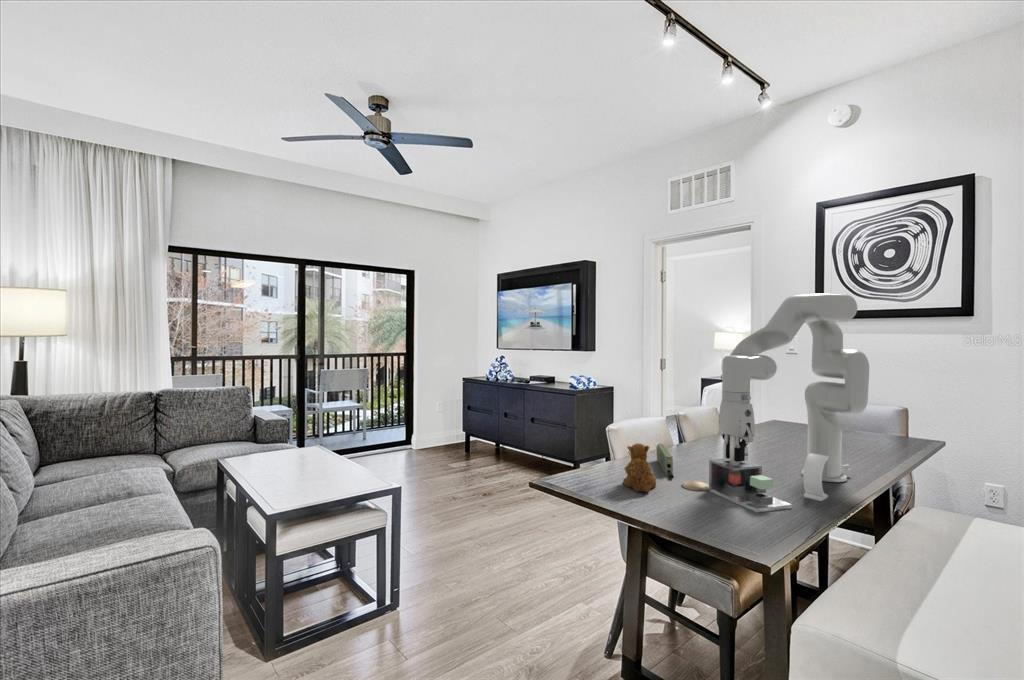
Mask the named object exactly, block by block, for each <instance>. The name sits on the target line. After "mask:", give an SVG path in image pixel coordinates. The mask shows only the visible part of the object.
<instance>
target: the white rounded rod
mask: <svg viewBox="0 0 1024 680" xmlns="http://www.w3.org/2000/svg"><path fill="white" fill-rule="evenodd" d="M734 448H737V447H736V437H734V436H730V464H732V465H740V461H739V462H736V461H734ZM729 472H730V473H733V474H740V470H734V471H733V470H731V469H730V470H729Z"/></svg>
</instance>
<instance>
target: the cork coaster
mask: <svg viewBox="0 0 1024 680" xmlns="http://www.w3.org/2000/svg"><path fill="white" fill-rule="evenodd" d="M681 486H682V487H683V488H685V489H687V490H689V491H697V492H704V491H707V488H705V486H709V483H706V482H703V481H698V480H685V481H682V483H681Z"/></svg>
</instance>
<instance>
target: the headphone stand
mask: <svg viewBox="0 0 1024 680" xmlns="http://www.w3.org/2000/svg"><path fill="white" fill-rule="evenodd" d="M827 460H828V456H824V455H819V454H813V453H810V454H809V455H808V457H806V459H805V462H804V465H803V466H804V467H803V469H804V470H803V469H802V470H803V475H802V482H803V489H804V490H805V493H803V497H804V498H808V499H811V500H815V501H820V502H822V501H824V500H826V499H828V498H829V497H828V496H829V495H828V494H826V493H825V492H824V489H823V481H822V473H823V468H824V465H825V462H826V461H827Z"/></svg>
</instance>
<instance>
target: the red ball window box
mask: <svg viewBox="0 0 1024 680" xmlns="http://www.w3.org/2000/svg"><path fill="white" fill-rule="evenodd" d="M708 463H709V464H708V465H709V467H708V485H709V486H705V488H707V490H706V491H708V492H710V493H712V494H714V495H716V496H719V497H721V498H724V499H725V500H728V501H730V502H732V503H734V504H736V505H739V506H741V507H743V508H745V509H747V510H749V511H752V512H754V513H756V514H757V513H764V512H765V513H766V512H771V511H773V512H774V511H779V510H787V509H792V508H793V504H791V503H789V502H787V501H785V500H784V501H783V500H781V499H779V498H777V497H773V496H771V495H769V494H766V493H759V492H757V488H756V487H753V486H751V485H750V476H758V475H762V473H763V466H762V465H760V464H757V463H754V462H752V461H749V460H748V461H746V460H744V461H740V465H732V464H730V459H727V458H724V459H723V458H715V459H712V458H711V459H709V460H708ZM730 469H731V470H733V471H734V470H740V473H741V484H738V486H733V485H732V484H731V483H729V482H728V479H729V470H730Z"/></svg>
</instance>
